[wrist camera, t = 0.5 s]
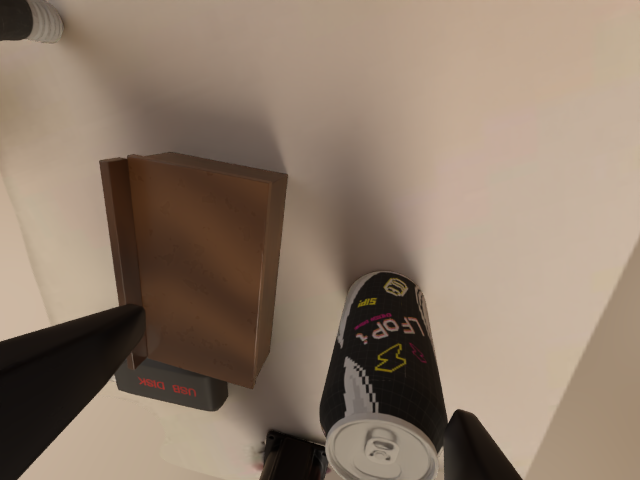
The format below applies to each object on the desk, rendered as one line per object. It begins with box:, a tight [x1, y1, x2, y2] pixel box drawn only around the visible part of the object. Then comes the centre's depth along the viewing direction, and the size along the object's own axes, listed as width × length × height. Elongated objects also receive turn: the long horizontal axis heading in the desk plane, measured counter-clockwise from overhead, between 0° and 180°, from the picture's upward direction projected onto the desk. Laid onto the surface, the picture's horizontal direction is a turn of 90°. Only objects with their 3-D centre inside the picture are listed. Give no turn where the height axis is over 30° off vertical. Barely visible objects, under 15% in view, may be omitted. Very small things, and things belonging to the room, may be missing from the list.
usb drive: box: [109, 357, 228, 411], centre depth 30 cm, size 5×12×3 cm, turn 88°
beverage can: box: [320, 271, 448, 480], centre depth 18 cm, size 6×6×12 cm
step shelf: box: [99, 152, 288, 389], centre depth 23 cm, size 16×10×6 cm, turn 172°
